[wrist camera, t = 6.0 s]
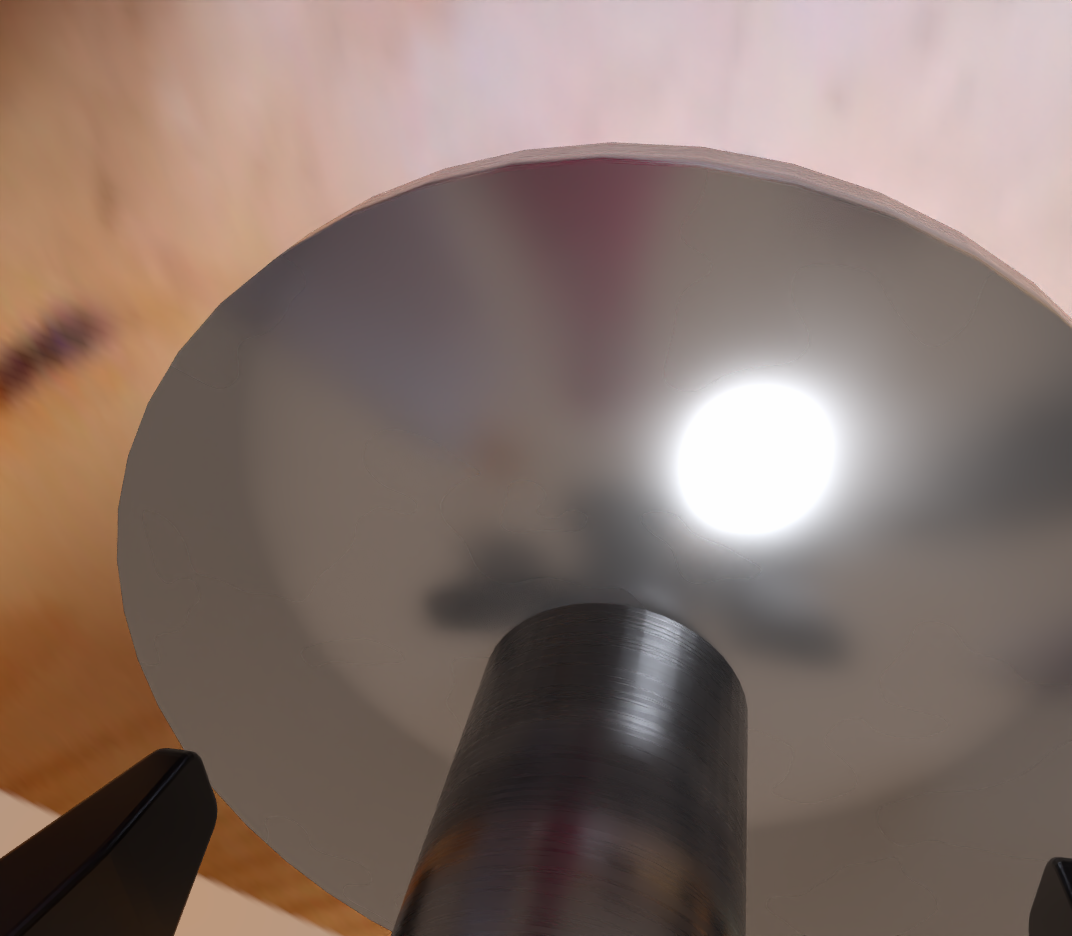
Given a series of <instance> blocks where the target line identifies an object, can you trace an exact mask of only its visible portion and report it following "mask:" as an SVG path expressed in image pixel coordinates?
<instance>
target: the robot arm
mask: <svg viewBox="0 0 1072 936" xmlns="http://www.w3.org/2000/svg"><path fill="white" fill-rule="evenodd" d="M216 819H217V803H216V799H215V796H214V793H213V790H212V787H211V784H210V781H209V778H208V775H207V773H206V770H205V767H204V764H203V761H202V759H201V757H200V756H199V755H198V754H197V753H196V752H193V751H187V750H179V749H171V748H163V749H159V750H157V751H154V752H153V753H151V754H149V755H148V756H147V757H145V758H144V759H142V760H141V761H139V762H138V763H136V764H135V765H134V766H132V767H131V768H129V769H128V770H126V771H125V772H124V773H122V774H121V775H119V776H118V777H116V778H115V779H114V780H112V781H111V782H109V783H108V784H106V785H105V786H104V787H102V788H101V789H99V790H98V791H96V792H95V793H94V794H92V795H91V796H89V797H88V798H86V799H85V800H83V801H82V802H81V803H79V804H78V805H76V806H75V807H73V808H72V809H71V810H69V811H68V812H66V813H65V814H63V815H62V816H61V817H59V818H58V819H56V820H55V821H53V822H52V823H51V824H49V825H48V826H46V827H45V828H44V829H42V830H41V831H39V832H38V833H36V834H35V835H33V836H32V837H30V838H29V839H28V840H26V841H25V842H23V843H22V844H21V845H19V846H18V847H16V848H15V849H13V850H12V851H10V852H9V853H8V854H6V855H5V856H3V857H2V858H0V936H174V934H175V931H176V928H177V926H178V923H179V920H180V917H181V915H182V912H183V910H184V907H185V905H186V902H187V899H188V897H189V894H190V891H191V888H192V886H193V883H194V881H195V878H196V875H197V873H198V870H199V867H200V865H201V862H202V859H203V857H204V854H205V851H206V849H207V846H208V843H209V841H210V838H211V835H212V833H213V830H214V827H215V823H216ZM1029 936H1072V858H1064V857H1054V858H1052V859H1050V860H1049V861H1048V862H1047V864H1046V866H1045V869H1044V872H1043V875H1042V878H1041V881H1040V884H1039V887H1038V890H1037V893H1036V896H1035V899H1034V902H1033V905H1032V908H1031V911H1030V915H1029Z"/></svg>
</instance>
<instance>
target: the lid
mask: <svg viewBox="0 0 1072 936" xmlns="http://www.w3.org/2000/svg"><path fill="white" fill-rule="evenodd" d="M117 564H118V571H119V578H120V586H121V593H122V600H123V607H124V613H125V616H126V620H127V623H128V627H129V630H130V634H131V637H132V641H133V644H134V648H135V651H136V654H137V658H138V661H139V663H140V665H141V668H142V670H143V672H144V675H145V677H146V679H147V681H148V684H149V686H150V688H151V691H152V693H153V695H154V697H155V700H156V702H157V704H158V706H159V708H160V710H161V711H162V713H163V715H164V716H165V718H166V720H167V722H168V723H169V725H170V727H171V728H172V730H173V732H174V733H175V735H176V737H177V739H178V740H179V742H180V744H181V745H182V747H183V749H184V750H187V751H193V752H196V753H197V754H198V755H199V756H200V757H201V759H202V761H203V764H204V767H205V770H206V773H207V775H208V778H209V781H210V784H211V786H212V788H213V789H214V790H215V791H216V792H217V793H218V794H219V796H220V797H221V798H222V799H223V800H224V801H225V802H226V803H227V804H228V805H229V806H230V808H231V809H232V810H233V811H234V812H235V813H236V814H237V815H238V816H239V817H240V818H241V820H242V821H243V822H244V823H245V824H246V825H247V826H248V827H249V828H250V829H251V830H252V831H253V832H254V833H256V834H257V835H258V836H259V837H260V838H261V839H262V840H263V841H264V842H265V843H267V844H268V845H269V846H270V847H271V848H272V849H273V850H274V851H275V852H277V853H278V854H279V855H280V856H281V857H282V858H283V859H284V860H285V861H287V862H288V863H289V864H291V865H292V866H293V867H294V868H296V869H297V870H298V871H300V872H301V873H302V874H304V875H305V876H306V877H308V878H309V879H310V880H312V881H313V882H314V883H316V884H317V885H318V886H319V887H321V888H322V889H323V890H325V891H326V892H327V893H329V894H331V895H332V896H334V897H335V898H337V899H338V900H340V901H342V902H343V903H345V904H346V905H348V906H349V907H351V908H353V909H354V910H356V911H357V912H359V913H360V914H362V915H363V916H365V917H367V918H368V919H370V920H371V921H373V922H375V923H377V924H379V925H381V926H383V927H385V928H386V929H388V930H390V931H392V934H391V936H1029V915H1030V911H1031V908H1032V905H1033V902H1034V899H1035V896H1036V893H1037V890H1038V887H1039V884H1040V881H1041V878H1042V875H1043V872H1044V869H1045V866H1046V864H1047V862H1048V861H1049V860H1050V859H1052V858H1054V857H1064V858H1072V319H1071V318H1070V317H1069V316H1068V315H1067V314H1066V313H1065V312H1064V311H1063V310H1062V309H1061V308H1060V307H1058V306H1057V305H1056V304H1055V303H1054V302H1053V301H1052V300H1051V299H1050V298H1049V297H1048V296H1047V295H1046V294H1045V293H1044V292H1043V291H1042V290H1040V289H1039V288H1038V287H1037V286H1036V285H1035V284H1034V283H1033V282H1032V281H1030V280H1029V279H1027V278H1026V277H1024V276H1023V275H1022V274H1020V273H1019V272H1017V271H1016V270H1014V269H1013V268H1011V267H1010V266H1008V265H1007V264H1006V263H1004V262H1003V261H1001V260H1000V259H998V258H997V257H995V256H994V255H993V254H991V253H990V252H988V251H987V250H985V249H984V248H982V247H981V246H980V245H978V244H977V243H975V242H974V241H972V240H971V239H969V238H968V237H966V236H965V235H964V234H962V233H961V232H959V231H956V230H954V229H952V228H950V227H948V226H946V225H944V224H942V223H940V222H938V221H936V220H934V219H932V218H930V217H928V216H926V215H924V214H922V213H920V212H918V211H916V210H914V209H912V208H910V207H908V206H906V205H904V204H902V203H900V202H898V201H896V200H894V199H892V198H890V197H888V196H886V195H884V194H882V193H879V192H876V191H873V190H870V189H867V188H864V187H861V186H858V185H855V184H852V183H849V182H846V181H843V180H840V179H837V178H834V177H831V176H828V175H825V174H822V173H819V172H816V171H813V170H810V169H807V168H804V167H801V166H798V165H795V164H791V163H786V162H781V161H775V160H770V159H764V158H759V157H754V156H748V155H743V154H737V153H732V152H727V151H721V150H716V149H710V148H705V147H694V146H674V145H653V144H632V143H612V142H611V143H600V144H588V145H577V146H566V147H554V148H543V149H532V150H523V151H519V152H514V153H510V154H506V155H501V156H497V157H493V158H489V159H484V160H480V161H476V162H471V163H467V164H463V165H458V166H454V167H450V168H445V169H442V170H440V171H437V172H435V173H432V174H430V175H427V176H425V177H422V178H419V179H417V180H414V181H412V182H409V183H407V184H404V185H402V186H399V187H396V188H394V189H391V190H389V191H386V192H384V193H381V194H379V195H376V196H373V197H371V198H370V199H368V200H366V201H364V202H363V203H361V204H359V205H358V206H356V207H354V208H352V209H351V210H349V211H347V212H345V213H344V214H342V215H340V216H339V217H337V218H335V219H333V220H332V221H330V222H328V223H327V224H325V225H323V226H321V227H320V228H318V229H316V230H314V231H313V232H311V233H309V234H308V235H307V236H305V237H304V238H303V239H301V240H300V241H299V242H297V243H296V244H295V245H293V246H292V247H290V248H289V249H288V250H286V251H285V252H284V253H282V254H281V255H280V256H278V257H277V258H276V259H274V260H273V261H272V262H271V263H269V264H268V265H267V266H266V267H265V268H263V269H262V270H261V271H260V272H258V273H257V274H256V275H255V276H254V277H252V278H251V279H250V280H249V281H247V282H246V283H245V284H244V285H243V286H241V287H240V288H239V289H238V290H236V291H235V292H234V293H233V294H232V295H230V296H229V297H228V298H227V299H225V300H224V301H223V302H222V303H221V304H220V305H219V306H218V307H217V308H216V309H215V311H214V312H213V313H212V314H211V315H210V316H209V318H208V319H207V320H206V321H205V322H204V323H203V324H202V326H201V327H200V328H199V329H198V330H197V331H196V333H195V334H194V335H193V336H192V337H191V338H190V339H189V341H188V342H187V343H186V344H185V345H184V346H183V348H182V349H181V350H180V351H179V352H178V354H177V356H176V357H175V359H174V361H173V362H172V364H171V366H170V367H169V369H168V371H167V372H166V374H165V376H164V377H163V379H162V381H161V382H160V384H159V386H158V387H157V389H156V391H155V392H154V394H153V396H152V397H151V399H150V401H149V402H148V405H147V407H146V410H145V413H144V415H143V418H142V421H141V423H140V426H139V428H138V431H137V434H136V436H135V439H134V442H133V444H132V447H131V450H130V452H129V455H128V459H127V464H126V470H125V475H124V480H123V486H122V491H121V496H120V502H119V507H118V541H117Z"/></svg>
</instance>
